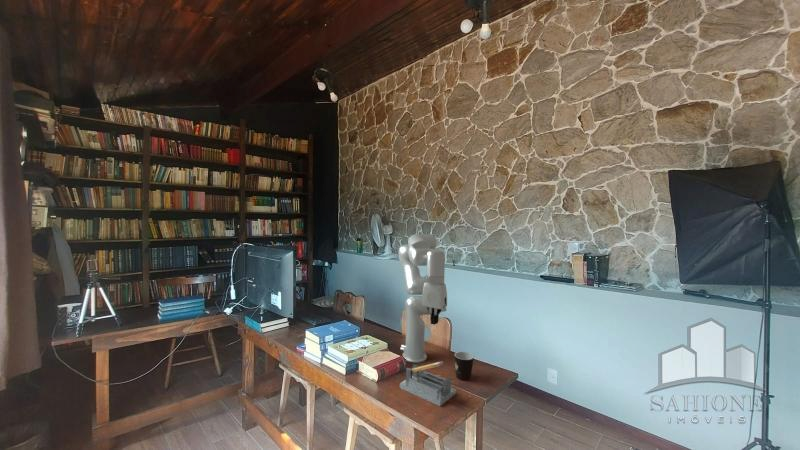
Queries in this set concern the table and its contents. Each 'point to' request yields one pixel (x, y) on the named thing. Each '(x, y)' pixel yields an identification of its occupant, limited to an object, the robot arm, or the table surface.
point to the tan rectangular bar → (427, 366)
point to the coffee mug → (463, 365)
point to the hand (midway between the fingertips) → (434, 323)
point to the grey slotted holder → (428, 386)
